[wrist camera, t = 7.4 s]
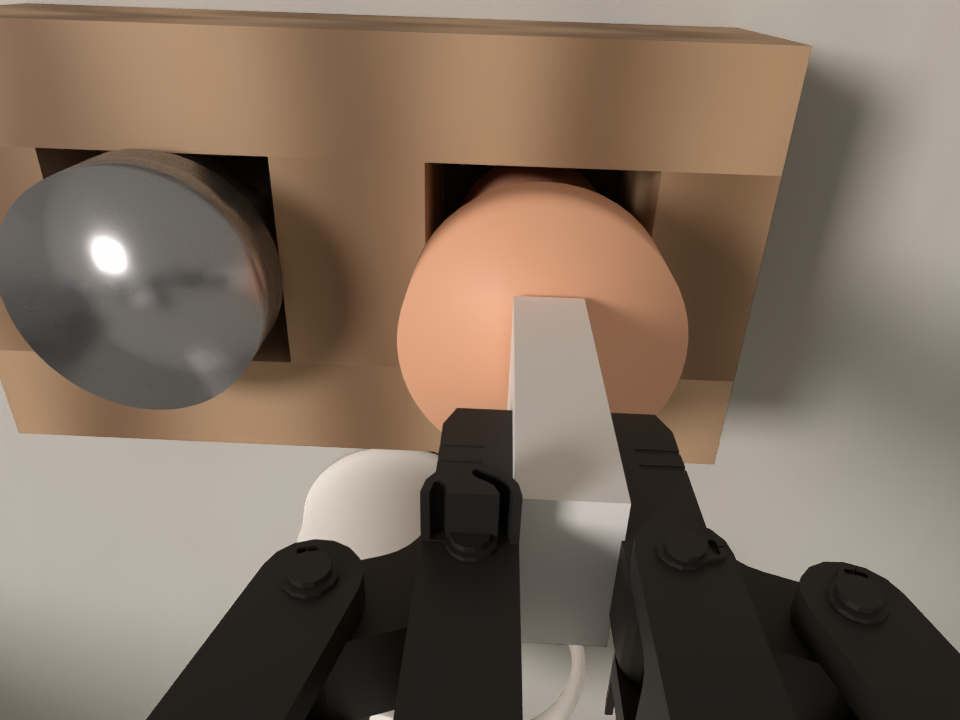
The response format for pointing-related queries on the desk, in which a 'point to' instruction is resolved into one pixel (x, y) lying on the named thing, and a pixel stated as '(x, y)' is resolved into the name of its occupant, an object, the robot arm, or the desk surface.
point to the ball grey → (145, 273)
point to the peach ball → (538, 293)
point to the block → (399, 181)
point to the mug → (392, 525)
